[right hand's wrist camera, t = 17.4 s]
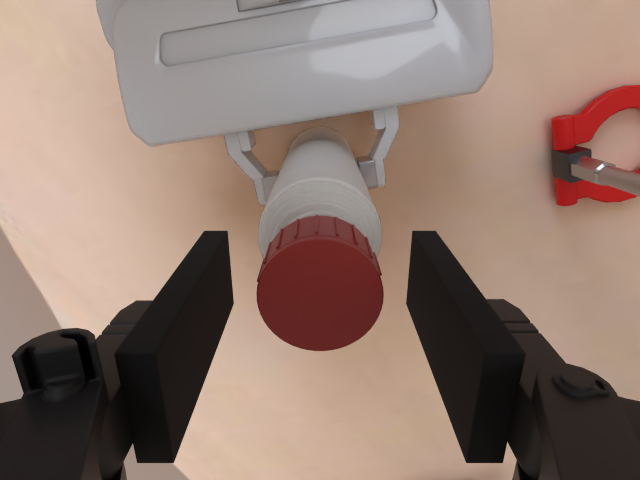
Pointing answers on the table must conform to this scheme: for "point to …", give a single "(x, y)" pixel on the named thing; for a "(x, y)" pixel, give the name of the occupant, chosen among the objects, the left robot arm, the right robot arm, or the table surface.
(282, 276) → the cap
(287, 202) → the bottle
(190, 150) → the table surface
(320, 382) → the table surface
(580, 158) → the tow hook
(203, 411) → the table surface
